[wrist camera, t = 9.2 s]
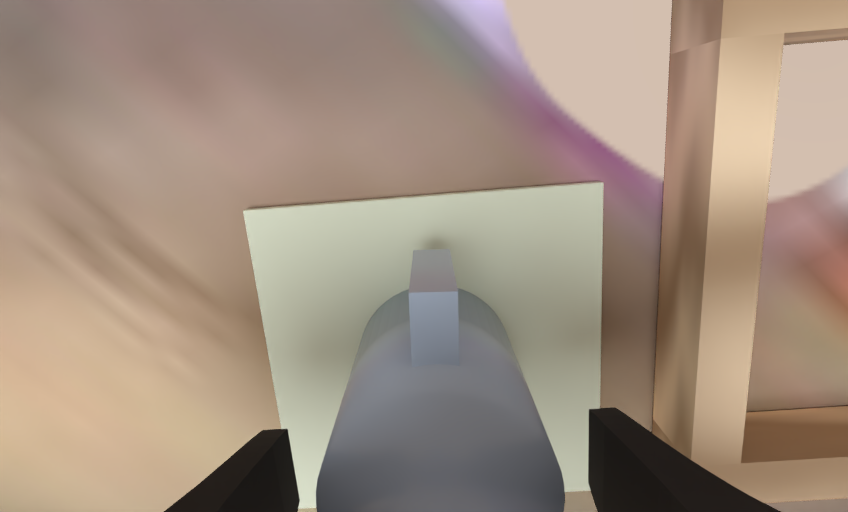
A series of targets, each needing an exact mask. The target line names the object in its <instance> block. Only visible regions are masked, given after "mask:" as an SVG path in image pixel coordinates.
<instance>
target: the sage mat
mask: <svg viewBox="0 0 848 512" xmlns="http://www.w3.org/2000/svg"><path fill="white" fill-rule="evenodd" d="M243 213H244V219H245V225H246V230H247V236H248V242H249V247H250V253H251V259H252V265H253V270H254V276H255V282H256V287H257V293H258V299H259V304H260V310H261V316H262V321H263V327H264V333H265V339H266V344H267V350H268V356H269V361H270V367H271V373H272V378H273V384H274V390H275V395H276V401H277V407H278V413H279V418H280V424H281V429H288V434H289V440H290V446H291V452H292V458H293V463H294V469H295V475H296V481H297V487H298V493H299V499H300V502H299V506H298V509H301V508H316V487H317V479H318V476H319V472H320V469H321V465H322V462H323V459H324V456H325V452H326V449H327V446H328V443H329V440H330V437H331V433H332V430H333V427H334V424H335V421H336V417H337V414H338V411H339V408H340V405H341V402H342V398H343V395H344V392H345V389H346V386H347V382H348V379H349V376H350V373H351V370H352V366H353V363H354V360H355V357H356V354H357V351H358V347H359V344H360V341H361V338H362V335H363V332H364V329H365V327H366V325H367V323H368V321H369V320H370V318H371V317H372V315H373V314H374V313H375V311H376V310H377V309H378V308H379V307H380V306H381V305H382V304H383V303H385V302H386V301H387V300H389V299H390V298H391V297H393V296H395V295H396V294H398V293H400V292H402V291H405V290H408V289H409V284H410V275H411V266H412V257H413V250H431V249H450V253H451V258H452V263H453V268H454V273H455V278H456V283H457V288H459V289H463V290H465V291H467V292H470V293H472V294H474V295H475V296H477V297H479V298H480V299H481V300H483V301H484V302H485V303H487V304H488V305H489V306H490V307H491V308H492V309H493V310H494V311H495V313H496V314H497V316H498V317H499V318H500V320H501V322H502V324H503V325H504V327H505V330H506V332H507V335H508V337H509V340H510V342H511V345H512V347H513V350H514V352H515V355H516V357H517V360H518V362H519V365H520V368H521V370H522V373H523V375H524V378H525V380H526V383H527V385H528V388H529V390H530V393H531V395H532V398H533V400H534V403H535V405H536V408H537V410H538V413H539V415H540V418H541V420H542V423H543V425H544V428H545V430H546V433H547V435H548V438H549V440H550V443H551V445H552V448H553V450H554V453H555V456H556V458H557V461H558V463H559V466H560V469H561V472H562V476H563V482H564V490H565V492H575V491H591V490H590V487H589V484H588V449H589V409H599V408H600V380H601V313H602V247H603V182H600V181H596V182H583V183H570V184H558V185H545V186H532V187H519V188H507V189H494V190H481V191H468V192H455V193H443V194H430V195H417V196H404V197H392V198H379V199H366V200H353V201H341V202H328V203H315V204H302V205H290V206H277V207H264V208H251V209H246V210H244V211H243Z"/></svg>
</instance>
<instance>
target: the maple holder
mask: <svg viewBox="0 0 848 512" xmlns="http://www.w3.org/2000/svg"><path fill="white" fill-rule="evenodd" d="M837 40H848V0H672V18H671V40H670V41H671V42H670V61H669V83H668V104H667V125H666V126H667V127H666V147H665V168H664V190H663V211H662V233H661V254H660V276H659V297H658V319H657V340H656V362H655V383H654V405H653V426H652V434H654V435H655V436H657V437H658V438H660V439H661V440H662V441H664V442H665V443H667V444H668V445H670V446H671V447H673V448H674V449H675V450H677V451H678V452H680V453H681V454H683V455H684V456H686V457H687V458H689V459H690V460H692V461H693V462H695V463H697V464H698V465H700V466H701V467H703V468H704V469H706V470H708V471H709V472H711V473H712V474H714V475H716V476H717V477H719V478H721V479H722V480H724V481H726V482H727V483H729V484H731V485H732V486H734V487H736V488H737V489H739V490H741V491H743V492H744V493H746V494H748V495H750V496H752V497H753V498H755V499H757V500H759V501H761V502H763V503H777V502H793V501H809V500H826V499H842V498H848V406H838V407H822V408H807V409H792V410H777V411H762V412H746V407H747V397H748V387H749V378H750V368H751V358H752V348H753V338H754V328H755V319H756V309H757V299H758V289H759V279H760V269H761V259H762V250H763V240H764V230H765V220H766V210H767V200H768V190H769V181H770V170H771V161H772V150H773V141H774V132H775V122H776V111H777V102H778V92H779V82H780V73H781V63H782V53H783V45H790V44H801V43H814V42H824V41H837Z"/></svg>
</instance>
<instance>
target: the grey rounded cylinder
mask: <svg viewBox="0 0 848 512" xmlns="http://www.w3.org/2000/svg"><path fill="white" fill-rule="evenodd" d="M564 503H565V490H564V482H563V476H562V472H561V469H560V466H559V463H558V461H557V458H556V456H555V453H554V450H553V448H552V445H551V443H550V440H549V438H548V435H547V433H546V430H545V428H544V425H543V423H542V420H541V418H540V415H539V413H538V410H537V408H536V405H535V403H534V400H533V398H532V395H531V393H530V390H529V388H528V385H527V383H526V380H525V378H524V375H523V373H522V370H521V368H520V365H519V362H518V360H517V357H516V355H515V352H514V350H513V347H512V345H511V342H510V340H509V337H508V335H507V332H506V330H505V327H504V325H503V324H502V322H501V320H500V318H499V317H498V316H497V314H496V313H495V311H494V310H493V309H492V308H491V307H490V306H489V305H488V304H487V303H485V302H484V301H483V300H481V299H480V298H479V297H477V296H475V295H474V294H472V293H470V292H467V291H465V290H463V289H459V288H457V283H456V278H455V273H454V268H453V263H452V258H451V253H450V249H431V250H413V257H412V266H411V275H410V284H409V289H408V290H405V291H402V292H400V293H398V294H396V295H395V296H393V297H391V298H390V299H389V300H387V301H386V302H385V303H383V304H382V305H381V306H380V307H379V308H378V309H377V310H376V311H375V313H374V314H373V315H372V317H371V318H370V320H369V321H368V323H367V325H366V327H365V329H364V332H363V335H362V338H361V341H360V344H359V347H358V351H357V354H356V357H355V360H354V363H353V366H352V370H351V373H350V376H349V379H348V382H347V386H346V389H345V392H344V395H343V398H342V402H341V405H340V408H339V411H338V414H337V417H336V421H335V424H334V427H333V430H332V433H331V437H330V440H329V443H328V446H327V449H326V452H325V456H324V459H323V462H322V465H321V469H320V472H319V476H318V479H317V487H316V508H317V512H563V511H564Z"/></svg>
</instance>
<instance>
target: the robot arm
mask: <svg viewBox="0 0 848 512" xmlns="http://www.w3.org/2000/svg"><path fill="white" fill-rule="evenodd" d="M588 484H589V487H590V490H591V493H592V496H593V499H594V502H595V505H596V508H597V511H598V512H780V511H778V510H776V509H774V508H772V507H771V506H769V505H767V504H765V503H763V502H761V501H759V500H757V499H755V498H753V497H752V496H750V495H748V494H746V493H744V492H743V491H741V490H739V489H737V488H736V487H734V486H732V485H731V484H729V483H727V482H726V481H724V480H722V479H721V478H719V477H717V476H716V475H714V474H712V473H711V472H709V471H708V470H706V469H704V468H703V467H701V466H700V465H698V464H697V463H695V462H693V461H692V460H690V459H689V458H687V457H686V456H684V455H683V454H681V453H680V452H678V451H677V450H675V449H674V448H673V447H671V446H670V445H668V444H667V443H665V442H664V441H662V440H661V439H660V438H658V437H657V436H655V435H654V434H652V433H651V432H650V431H648V430H647V429H645V428H644V427H643V426H641V425H640V424H638V423H637V422H636V421H634V420H633V419H631V418H630V417H628V416H627V415H626V414H624V413H623V412H621V411H620V410H618V409H616V408H599V409H589V449H588ZM299 502H300V499H299V493H298V487H297V481H296V475H295V469H294V463H293V458H292V452H291V446H290V440H289V434H288V429H274V430H262V431H261V432H260V433H258V434H257V435H256V436H255V437H253V438H252V439H251V440H250V441H249V442H247V443H246V444H245V445H244V446H243V447H242V448H240V449H239V450H238V451H237V452H236V453H235V454H234V455H232V456H231V457H230V458H229V459H228V460H227V461H225V462H224V463H223V464H222V465H221V466H220V467H218V468H217V469H216V470H215V471H214V472H213V473H211V474H210V475H209V476H208V477H207V478H205V479H204V480H203V481H202V482H201V483H200V484H198V485H197V486H196V487H195V488H193V489H192V490H191V491H190V492H188V493H187V494H186V495H185V496H183V497H182V498H181V499H179V500H178V501H177V502H176V503H174V504H173V505H172V506H171V507H169V508H168V509H167V510H166V511H164V512H297V511H298V506H299Z"/></svg>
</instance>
